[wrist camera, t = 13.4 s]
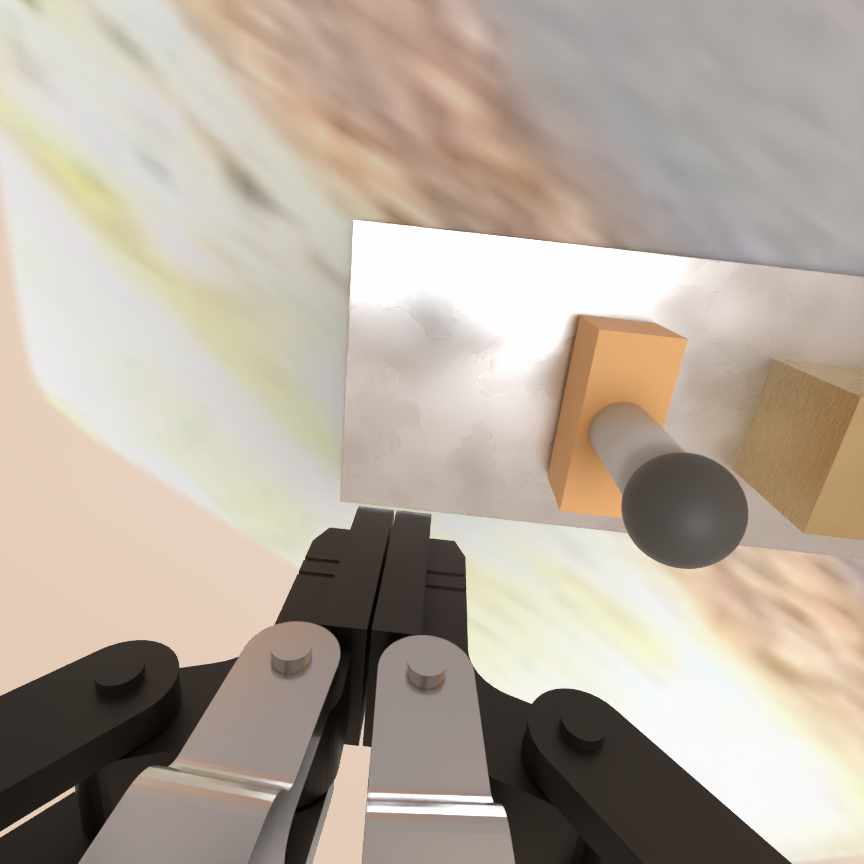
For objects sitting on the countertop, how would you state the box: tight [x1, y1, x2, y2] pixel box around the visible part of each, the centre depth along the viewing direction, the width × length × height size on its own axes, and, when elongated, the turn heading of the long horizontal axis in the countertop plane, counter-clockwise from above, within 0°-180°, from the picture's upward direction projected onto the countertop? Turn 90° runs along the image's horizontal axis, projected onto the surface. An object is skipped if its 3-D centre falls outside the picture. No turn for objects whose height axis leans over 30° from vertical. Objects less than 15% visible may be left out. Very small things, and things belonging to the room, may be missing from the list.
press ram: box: [547, 315, 748, 569], centre depth 18 cm, size 3×7×10 cm, turn 174°
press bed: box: [340, 220, 864, 559], centre depth 22 cm, size 30×12×6 cm, turn 84°
